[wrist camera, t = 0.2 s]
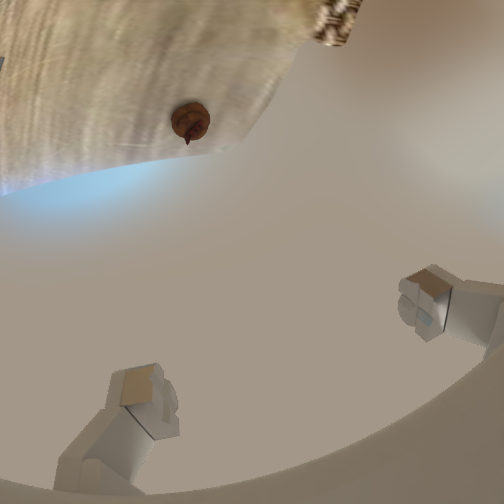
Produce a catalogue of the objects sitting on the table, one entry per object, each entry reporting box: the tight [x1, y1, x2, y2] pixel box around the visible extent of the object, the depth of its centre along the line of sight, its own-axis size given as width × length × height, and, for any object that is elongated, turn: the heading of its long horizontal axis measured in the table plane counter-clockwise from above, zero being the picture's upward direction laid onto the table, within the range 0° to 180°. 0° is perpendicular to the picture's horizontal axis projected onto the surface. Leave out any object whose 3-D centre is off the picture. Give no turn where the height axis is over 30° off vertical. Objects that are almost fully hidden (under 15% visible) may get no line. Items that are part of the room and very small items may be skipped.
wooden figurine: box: [171, 102, 210, 145], centre depth 44 cm, size 7×6×15 cm
